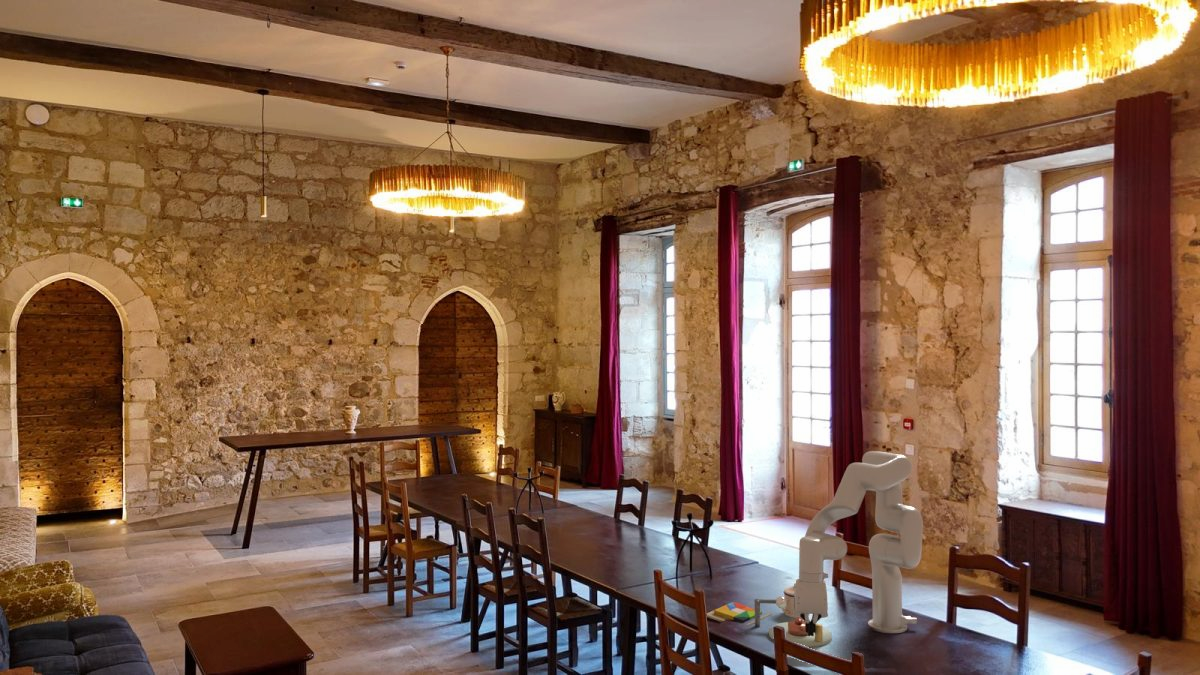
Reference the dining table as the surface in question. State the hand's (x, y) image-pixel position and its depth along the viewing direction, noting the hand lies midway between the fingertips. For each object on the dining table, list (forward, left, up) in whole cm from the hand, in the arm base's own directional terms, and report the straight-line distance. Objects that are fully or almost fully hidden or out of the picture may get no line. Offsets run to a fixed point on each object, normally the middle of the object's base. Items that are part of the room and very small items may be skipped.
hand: (810, 634), depth 273 cm
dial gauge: (+11, -19, -5) cm, 22 cm away
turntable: (+2, -10, -4) cm, 10 cm away
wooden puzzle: (+21, -31, -6) cm, 37 cm away
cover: (+2, -9, -3) cm, 10 cm away
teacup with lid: (+1, -32, -5) cm, 32 cm away
